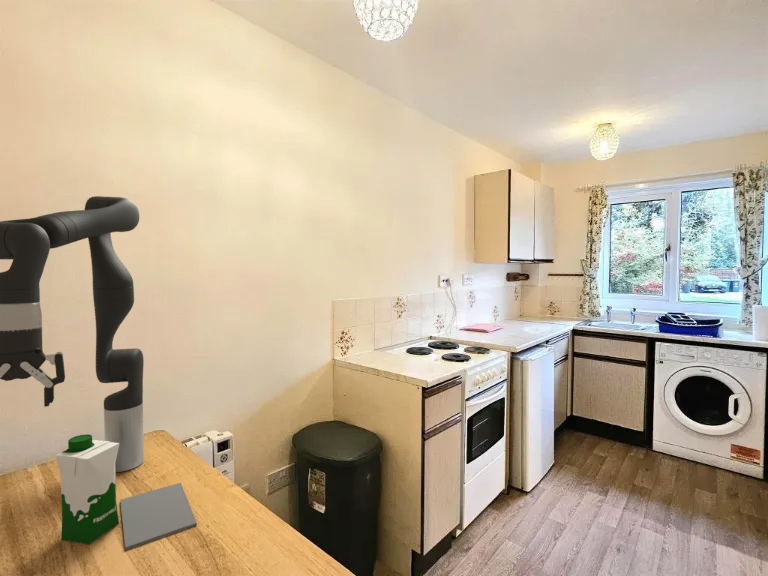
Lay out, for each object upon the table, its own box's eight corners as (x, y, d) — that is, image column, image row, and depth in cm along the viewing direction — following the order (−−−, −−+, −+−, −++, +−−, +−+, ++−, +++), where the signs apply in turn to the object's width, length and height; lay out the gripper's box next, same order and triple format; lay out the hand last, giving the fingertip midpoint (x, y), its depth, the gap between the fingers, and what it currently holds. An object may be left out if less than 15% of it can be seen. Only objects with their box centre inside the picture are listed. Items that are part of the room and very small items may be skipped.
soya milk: (92, 516, 88) (90, 429, 87) (126, 521, 86) (124, 432, 85) (52, 542, 79) (49, 446, 79) (89, 548, 78) (86, 450, 77)
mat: (120, 502, 93) (120, 499, 93) (180, 484, 101) (180, 482, 101) (125, 550, 77) (125, 547, 77) (196, 525, 85) (196, 522, 85)
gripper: (64, 322, 82) (66, 398, 83) (-33, 327, 74) (-31, 412, 74) (62, 325, 76) (64, 407, 77) (-44, 331, 68) (-41, 424, 68)
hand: (17, 410), depth 75 cm, fingers open, 8 cm apart
